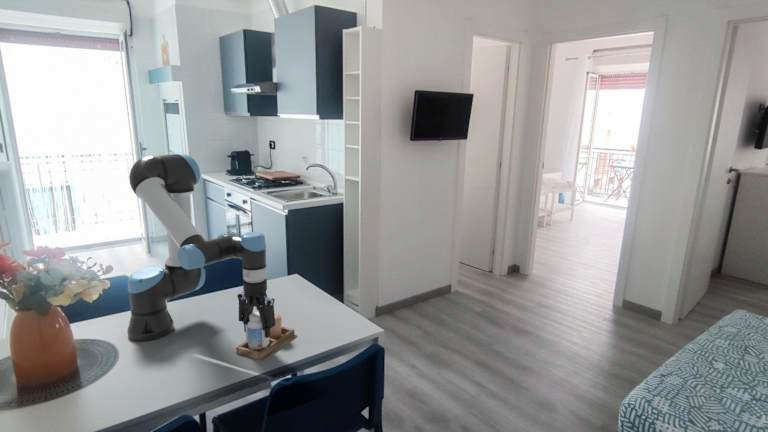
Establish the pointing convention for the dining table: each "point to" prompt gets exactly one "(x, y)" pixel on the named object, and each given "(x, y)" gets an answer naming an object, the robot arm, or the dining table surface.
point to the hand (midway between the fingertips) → (257, 343)
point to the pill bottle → (255, 331)
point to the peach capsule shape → (276, 328)
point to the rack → (267, 350)
